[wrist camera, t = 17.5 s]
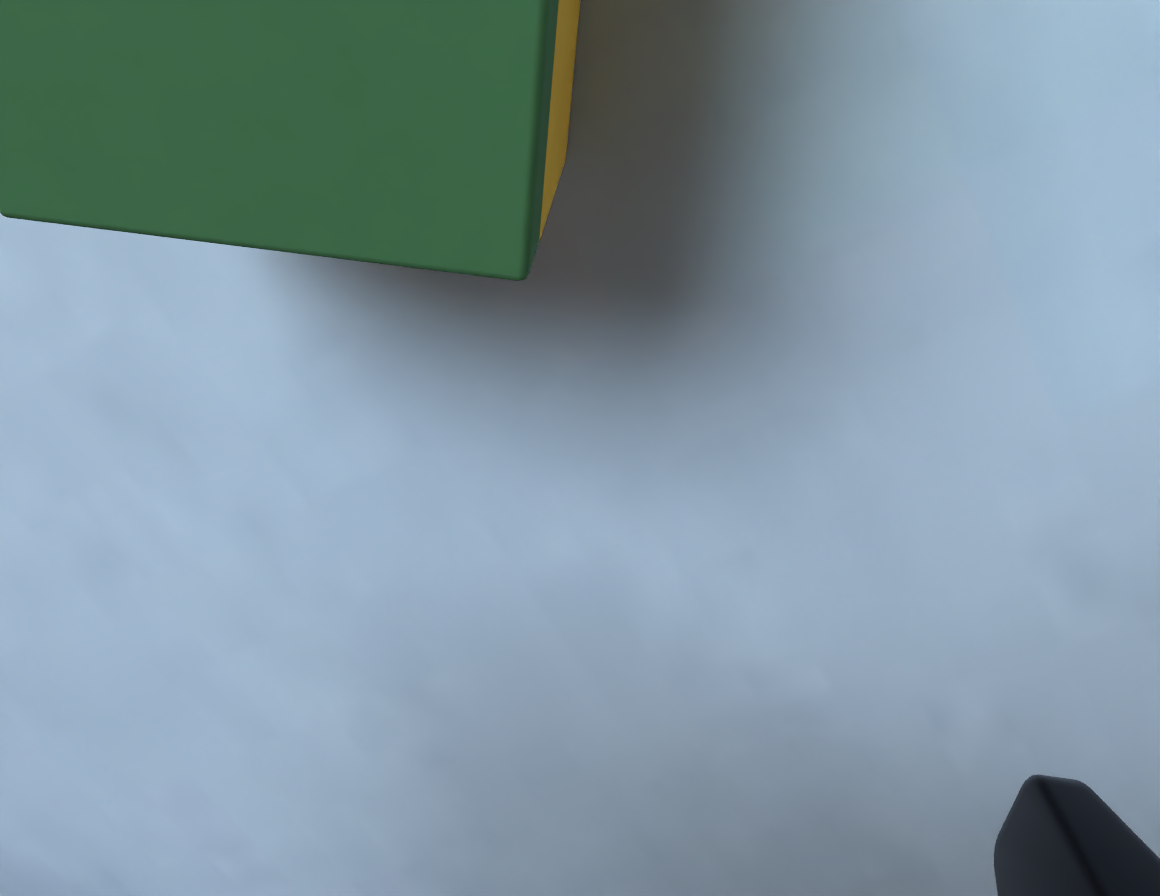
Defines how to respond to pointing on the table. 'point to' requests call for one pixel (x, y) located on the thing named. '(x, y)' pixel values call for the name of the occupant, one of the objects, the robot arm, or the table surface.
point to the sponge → (293, 123)
